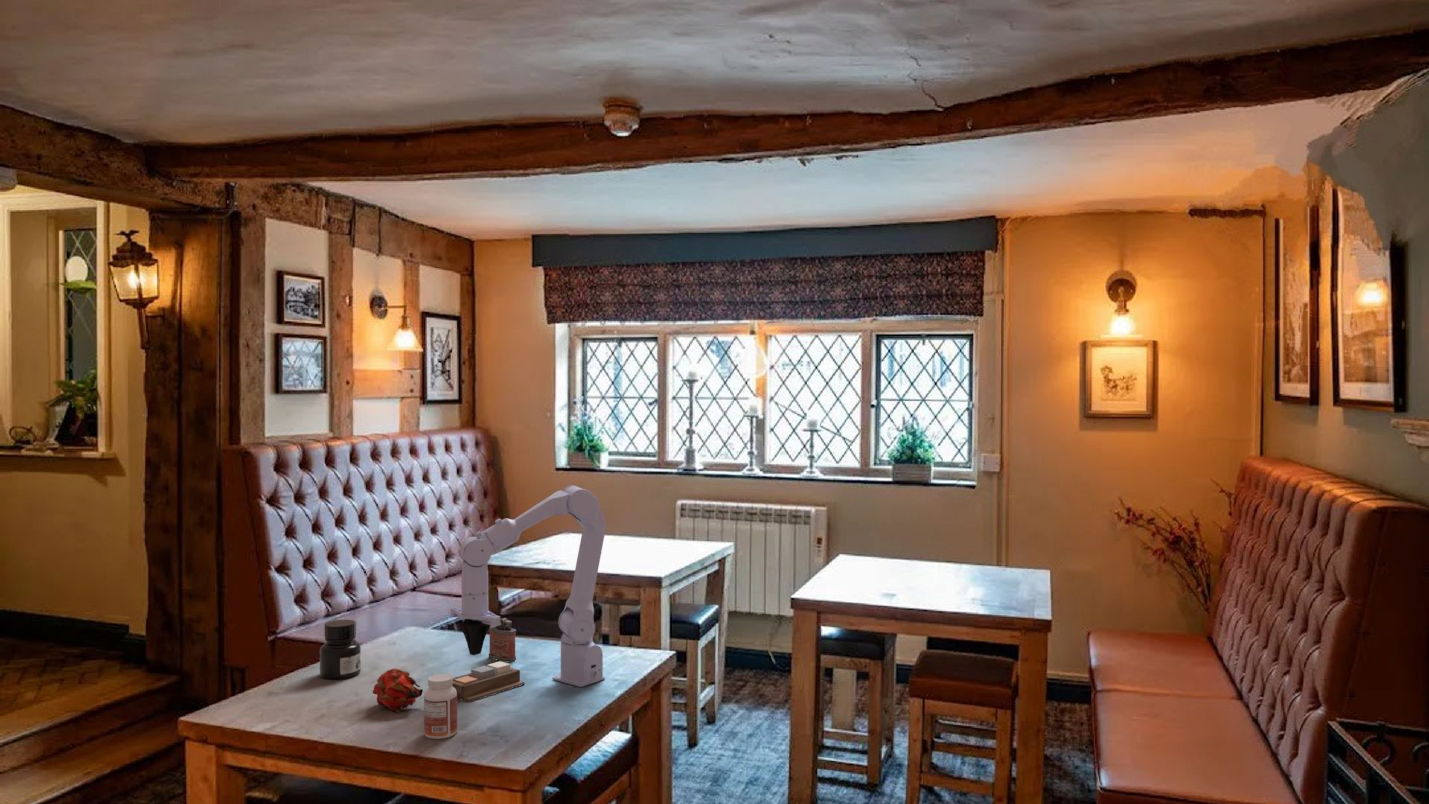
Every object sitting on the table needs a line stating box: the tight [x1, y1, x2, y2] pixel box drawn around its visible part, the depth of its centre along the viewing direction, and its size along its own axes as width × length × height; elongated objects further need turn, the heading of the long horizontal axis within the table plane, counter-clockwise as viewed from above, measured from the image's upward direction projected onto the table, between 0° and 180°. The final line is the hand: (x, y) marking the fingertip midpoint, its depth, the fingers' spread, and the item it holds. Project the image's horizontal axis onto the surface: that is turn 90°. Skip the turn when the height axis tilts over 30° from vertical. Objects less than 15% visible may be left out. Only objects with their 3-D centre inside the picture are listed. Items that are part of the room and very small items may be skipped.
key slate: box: [470, 665, 495, 681], centre depth 218 cm, size 4×4×2 cm
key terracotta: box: [454, 676, 478, 685], centre depth 214 cm, size 4×4×2 cm
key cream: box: [486, 661, 511, 676], centre depth 221 cm, size 4×4×2 cm
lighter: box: [488, 617, 517, 662], centre depth 241 cm, size 8×3×10 cm, turn 58°
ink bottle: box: [319, 619, 362, 680], centre depth 228 cm, size 10×9×12 cm
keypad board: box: [452, 667, 525, 703], centre depth 218 cm, size 10×15×3 cm, turn 142°
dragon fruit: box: [372, 668, 424, 712], centre depth 205 cm, size 8×8×12 cm
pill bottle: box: [423, 673, 458, 740], centre depth 190 cm, size 6×6×11 cm
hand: (475, 653), depth 216 cm, fingers closed
